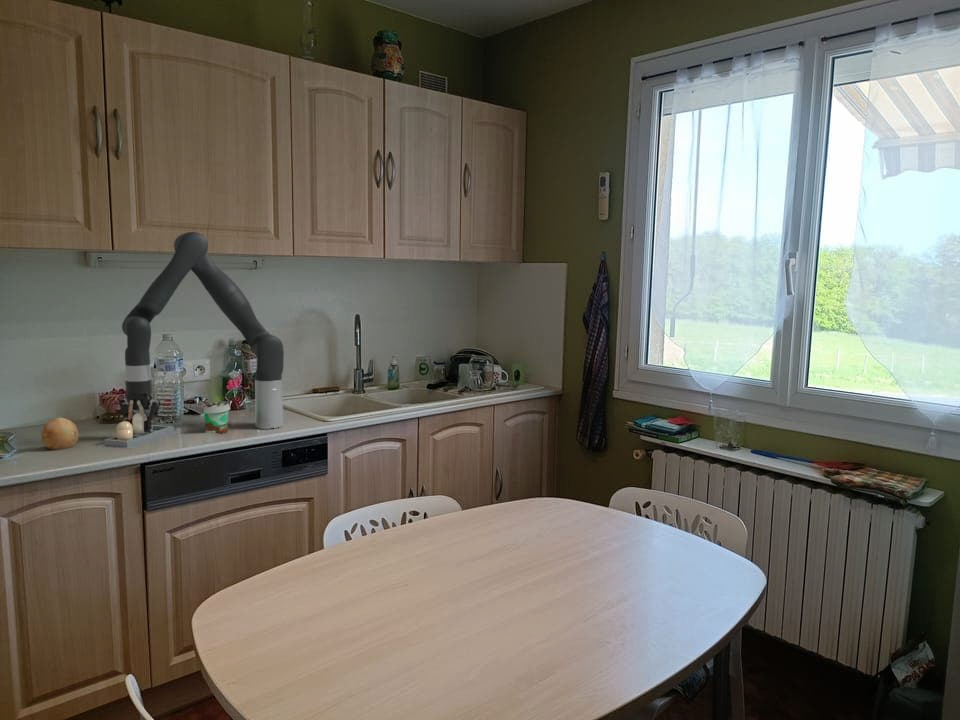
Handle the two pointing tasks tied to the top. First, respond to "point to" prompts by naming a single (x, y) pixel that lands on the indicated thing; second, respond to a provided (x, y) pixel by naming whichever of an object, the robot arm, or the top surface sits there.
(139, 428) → the white domed cylinder
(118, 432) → the brown egg
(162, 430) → the carton
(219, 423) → the food container
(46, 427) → the onion
